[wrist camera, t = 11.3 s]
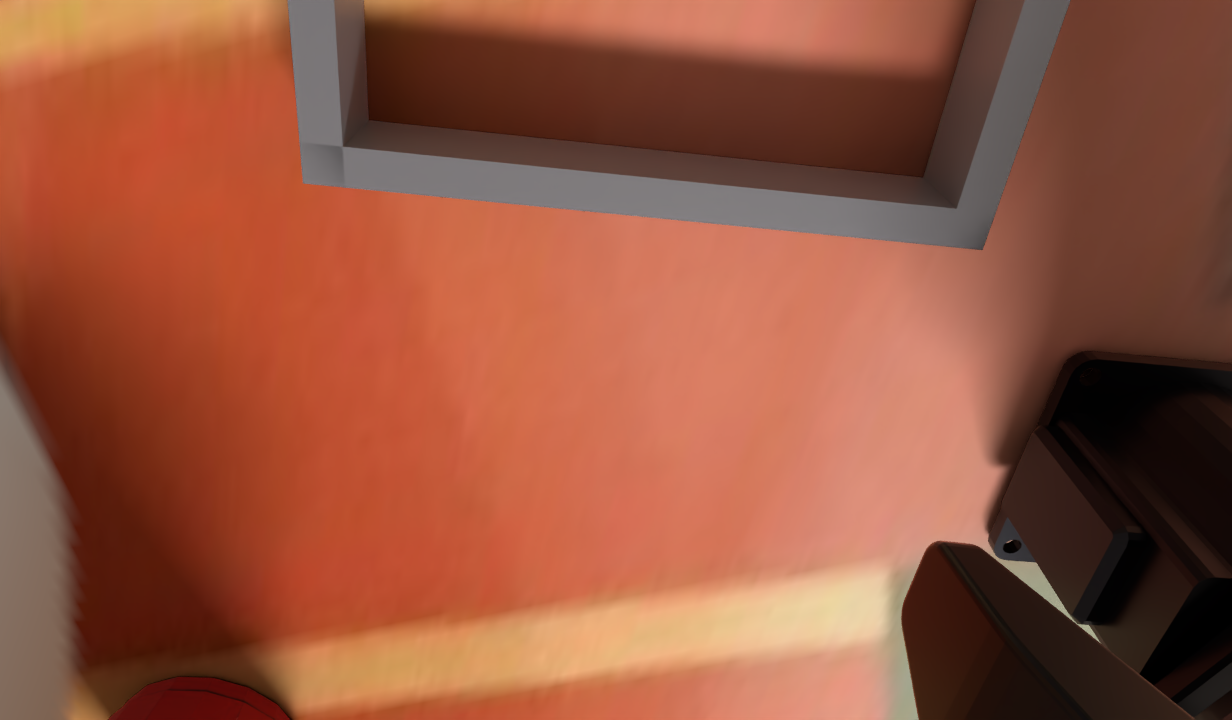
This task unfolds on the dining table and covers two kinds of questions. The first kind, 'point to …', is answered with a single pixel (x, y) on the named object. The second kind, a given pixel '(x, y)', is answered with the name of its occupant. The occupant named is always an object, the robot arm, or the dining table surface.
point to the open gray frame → (683, 182)
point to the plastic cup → (198, 702)
